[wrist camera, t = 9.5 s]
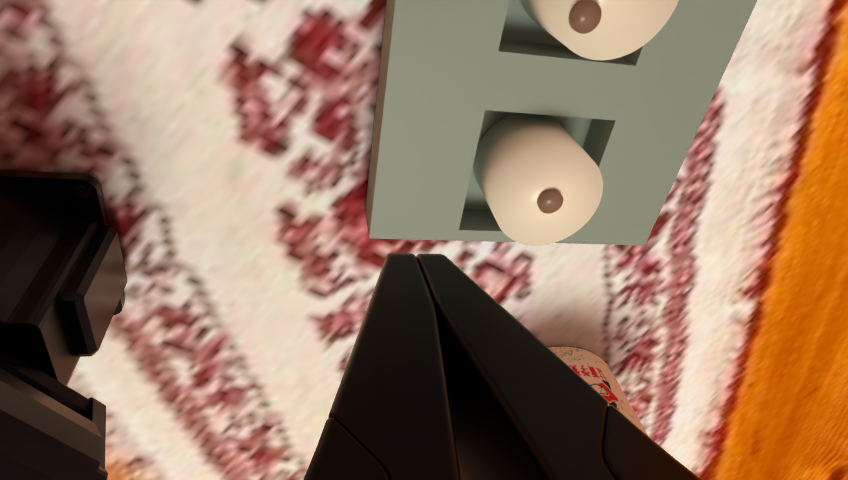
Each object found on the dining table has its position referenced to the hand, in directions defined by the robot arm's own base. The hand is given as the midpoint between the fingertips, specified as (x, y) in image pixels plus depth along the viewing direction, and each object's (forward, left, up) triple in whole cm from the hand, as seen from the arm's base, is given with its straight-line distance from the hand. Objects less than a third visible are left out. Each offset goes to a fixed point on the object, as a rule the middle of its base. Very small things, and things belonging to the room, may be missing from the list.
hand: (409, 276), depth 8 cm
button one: (+7, -4, -13) cm, 15 cm away
